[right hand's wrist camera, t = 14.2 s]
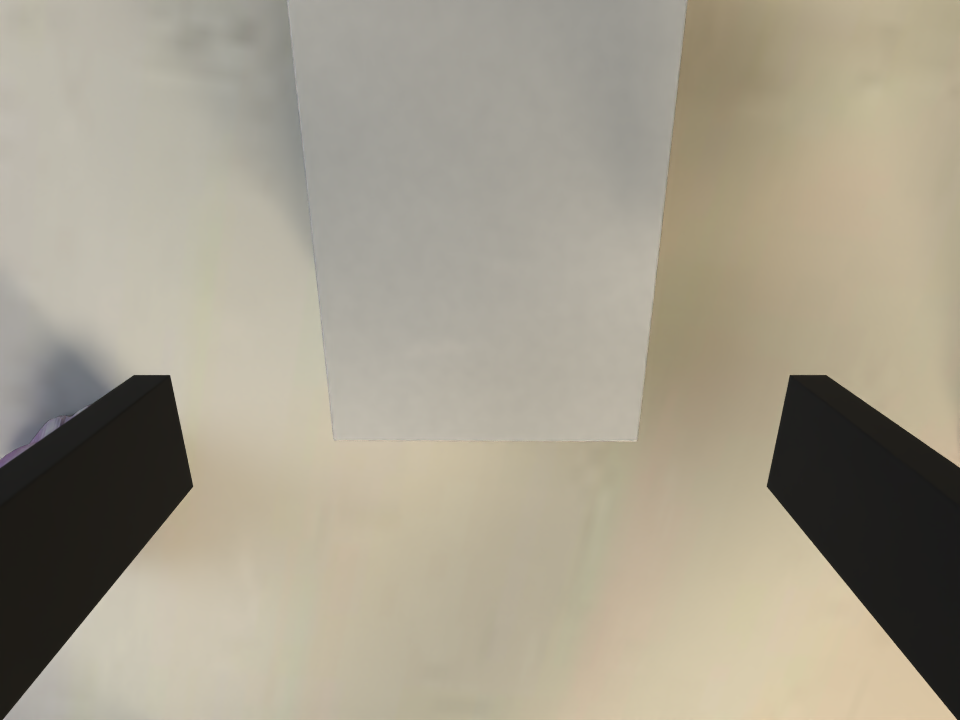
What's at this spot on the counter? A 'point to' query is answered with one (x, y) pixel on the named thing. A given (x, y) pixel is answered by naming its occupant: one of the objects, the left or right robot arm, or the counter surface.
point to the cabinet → (486, 210)
